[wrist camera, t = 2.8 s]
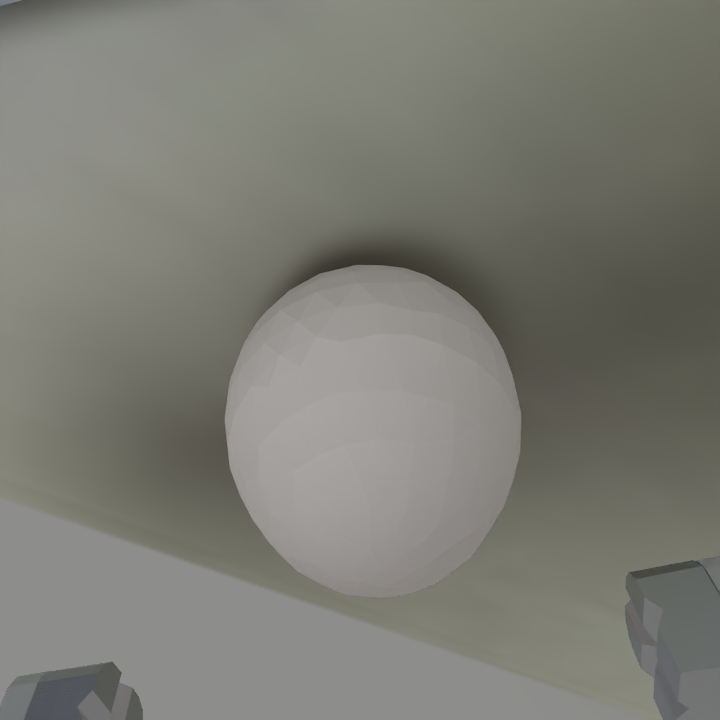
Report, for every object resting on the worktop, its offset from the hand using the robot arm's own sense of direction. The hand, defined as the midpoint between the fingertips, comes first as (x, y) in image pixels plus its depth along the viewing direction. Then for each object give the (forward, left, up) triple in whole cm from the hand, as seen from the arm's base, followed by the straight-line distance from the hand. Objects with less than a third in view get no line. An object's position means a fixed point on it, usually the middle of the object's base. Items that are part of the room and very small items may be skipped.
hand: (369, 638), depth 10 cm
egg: (0, 0, -9) cm, 9 cm away
